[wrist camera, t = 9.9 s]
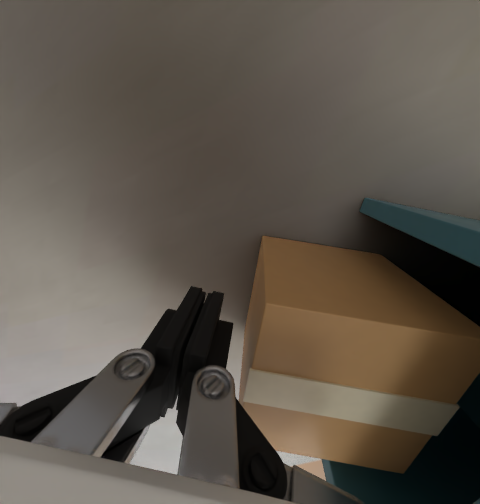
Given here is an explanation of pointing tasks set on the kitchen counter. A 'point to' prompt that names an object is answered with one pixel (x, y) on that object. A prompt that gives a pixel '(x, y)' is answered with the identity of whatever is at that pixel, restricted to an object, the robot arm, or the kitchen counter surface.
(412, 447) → the box
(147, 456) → the kitchen counter surface
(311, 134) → the kitchen counter surface
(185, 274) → the kitchen counter surface
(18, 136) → the kitchen counter surface
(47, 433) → the robot arm
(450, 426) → the shelf
